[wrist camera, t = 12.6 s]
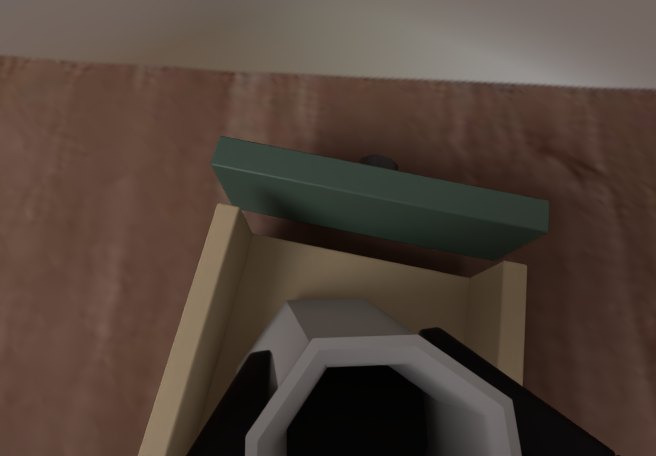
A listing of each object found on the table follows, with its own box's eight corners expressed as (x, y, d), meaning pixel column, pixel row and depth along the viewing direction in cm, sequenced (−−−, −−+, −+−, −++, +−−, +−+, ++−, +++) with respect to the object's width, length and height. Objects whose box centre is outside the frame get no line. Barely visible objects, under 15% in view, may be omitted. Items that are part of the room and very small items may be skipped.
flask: (198, 481, 13) (-146, 838, 3) (271, 271, 15) (199, 116, 5) (415, 554, 12) (764, 1218, 3) (455, 327, 15) (721, 261, 5)
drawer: (247, 161, 18) (228, 106, 14) (497, 211, 18) (551, 169, 14) (115, 601, 13) (25, 712, 9) (466, 684, 12) (537, 838, 8)
